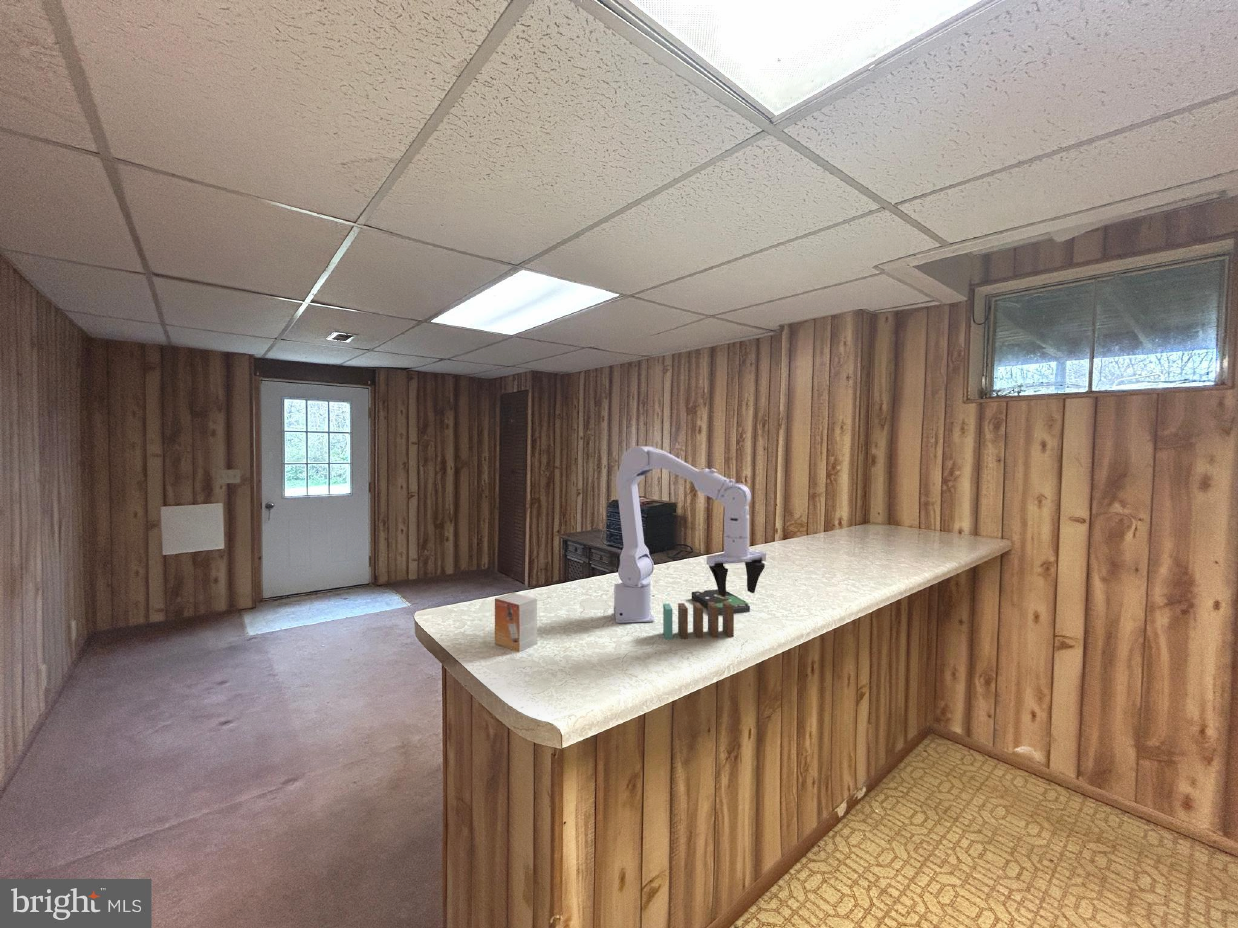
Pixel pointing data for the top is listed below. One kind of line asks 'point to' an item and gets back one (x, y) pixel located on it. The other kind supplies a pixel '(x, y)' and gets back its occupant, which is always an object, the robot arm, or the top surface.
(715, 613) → the domino
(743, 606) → the disk drive
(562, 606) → the top surface
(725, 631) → the domino
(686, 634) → the domino
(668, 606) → the teal domino
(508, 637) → the small box
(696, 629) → the domino
